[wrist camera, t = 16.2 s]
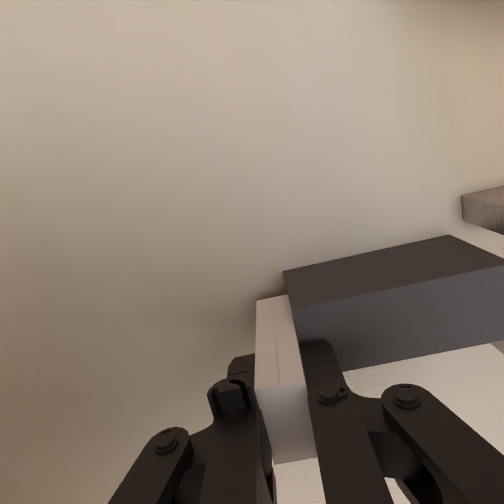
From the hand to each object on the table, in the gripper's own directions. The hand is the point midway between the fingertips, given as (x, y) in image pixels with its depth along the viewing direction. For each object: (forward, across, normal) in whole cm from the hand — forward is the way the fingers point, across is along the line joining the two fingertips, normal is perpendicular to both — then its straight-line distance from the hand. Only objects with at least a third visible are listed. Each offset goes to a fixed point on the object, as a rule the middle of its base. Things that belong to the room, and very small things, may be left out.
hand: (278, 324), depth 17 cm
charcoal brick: (+2, +5, 0) cm, 5 cm away
